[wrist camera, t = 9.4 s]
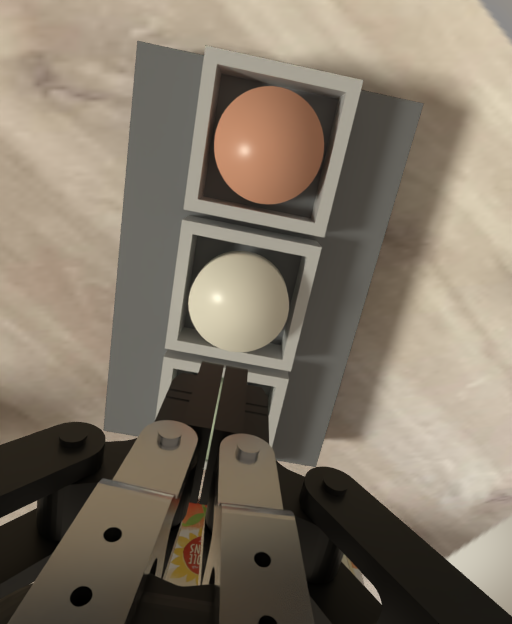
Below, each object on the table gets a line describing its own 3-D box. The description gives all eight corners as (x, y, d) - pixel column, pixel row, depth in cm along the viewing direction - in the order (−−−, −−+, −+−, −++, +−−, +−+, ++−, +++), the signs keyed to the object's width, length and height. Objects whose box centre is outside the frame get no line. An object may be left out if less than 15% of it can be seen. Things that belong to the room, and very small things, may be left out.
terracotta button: (226, 81, 19) (223, 75, 18) (330, 104, 20) (336, 99, 18) (210, 191, 21) (206, 192, 20) (306, 210, 21) (309, 213, 20)
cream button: (200, 242, 21) (196, 247, 20) (296, 261, 21) (299, 267, 20) (187, 331, 23) (182, 342, 21) (276, 348, 23) (277, 360, 22)
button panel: (153, 56, 22) (124, 27, 18) (403, 111, 23) (440, 96, 18) (118, 405, 30) (91, 450, 25) (310, 438, 30) (319, 489, 26)
